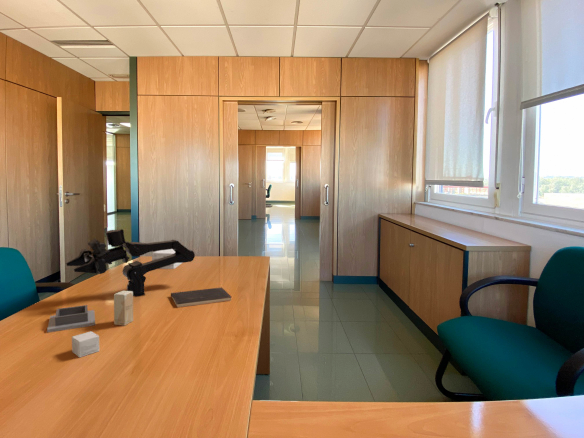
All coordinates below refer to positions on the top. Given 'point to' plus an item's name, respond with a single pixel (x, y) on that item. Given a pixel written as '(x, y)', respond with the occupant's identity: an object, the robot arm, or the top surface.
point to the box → (123, 307)
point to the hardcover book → (200, 297)
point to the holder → (71, 318)
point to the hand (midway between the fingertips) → (70, 267)
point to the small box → (85, 344)
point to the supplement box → (163, 254)
